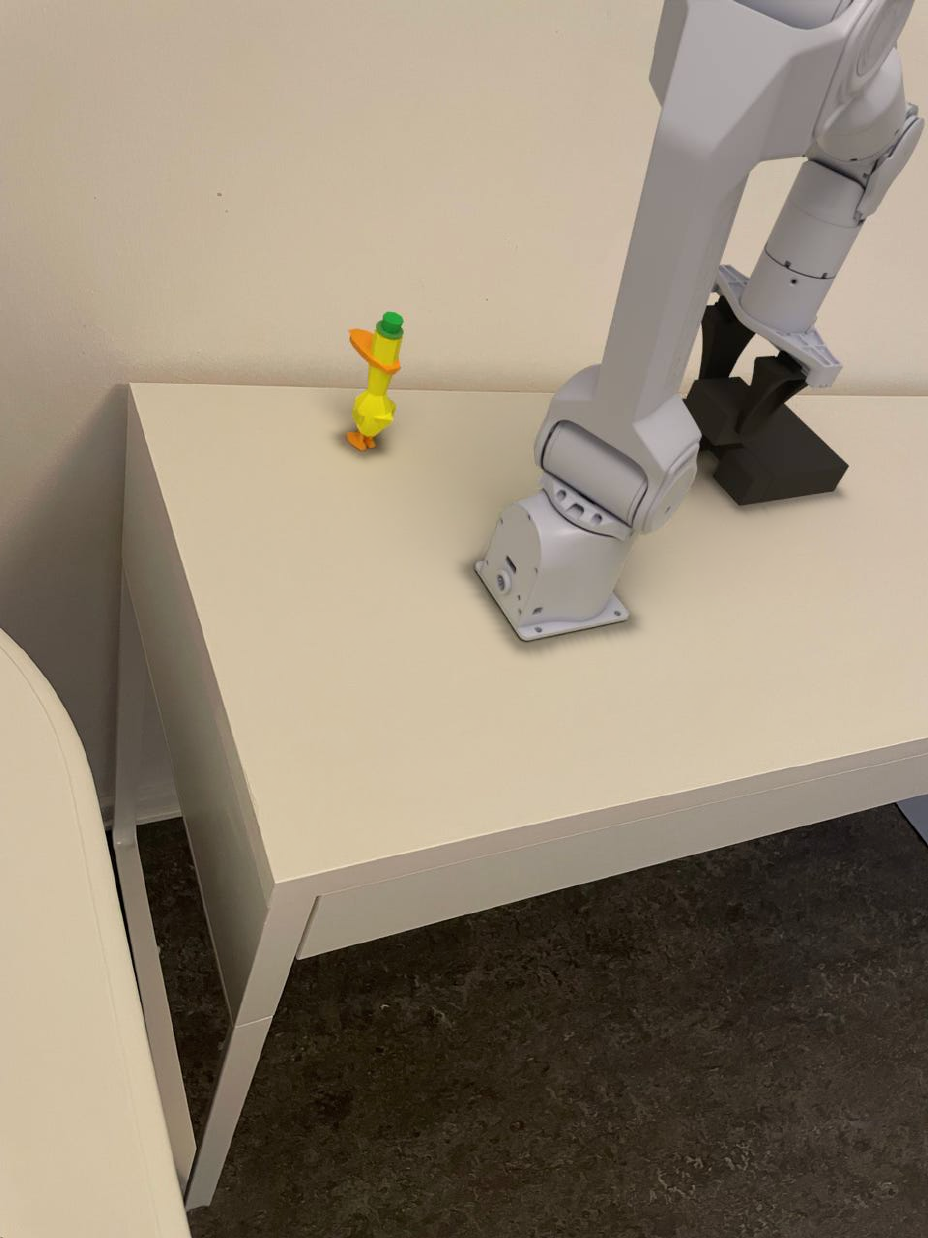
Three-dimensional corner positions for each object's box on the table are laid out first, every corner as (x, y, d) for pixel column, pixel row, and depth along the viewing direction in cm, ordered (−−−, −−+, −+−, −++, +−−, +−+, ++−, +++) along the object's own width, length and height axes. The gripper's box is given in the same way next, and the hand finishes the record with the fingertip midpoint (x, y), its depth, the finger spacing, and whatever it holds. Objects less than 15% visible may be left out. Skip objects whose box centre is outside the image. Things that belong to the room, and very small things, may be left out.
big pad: (739, 505, 92) (753, 479, 90) (665, 424, 98) (677, 398, 96) (834, 490, 97) (849, 465, 95) (758, 415, 104) (771, 390, 102)
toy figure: (318, 422, 86) (341, 290, 77) (353, 413, 88) (378, 284, 79) (367, 469, 83) (395, 338, 74) (401, 459, 85) (432, 329, 76)
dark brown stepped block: (714, 445, 84) (729, 415, 82) (680, 409, 87) (694, 379, 85) (777, 438, 87) (793, 409, 85) (742, 403, 90) (757, 374, 88)
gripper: (903, 310, 74) (815, 460, 83) (781, 212, 82) (713, 359, 92) (833, 313, 71) (750, 469, 80) (713, 211, 79) (650, 363, 88)
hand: (726, 411), depth 86 cm, fingers closed on dark brown stepped block, 5 cm apart
